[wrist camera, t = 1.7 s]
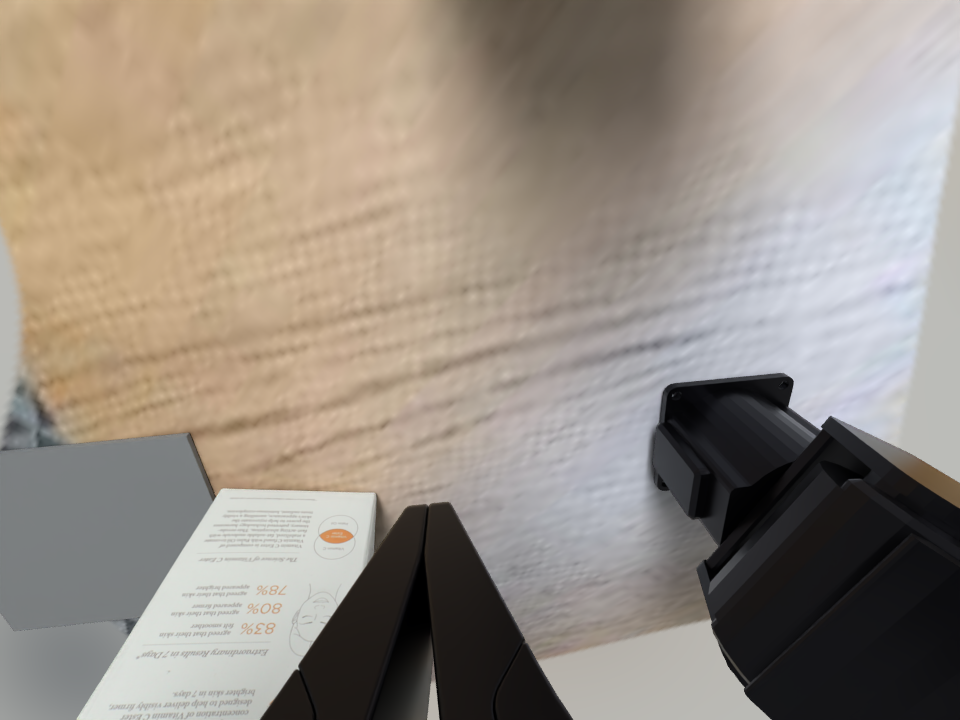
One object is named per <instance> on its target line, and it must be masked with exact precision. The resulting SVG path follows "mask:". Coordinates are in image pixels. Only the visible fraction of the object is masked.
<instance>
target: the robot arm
mask: <svg viewBox="0 0 960 720" xmlns="http://www.w3.org/2000/svg"><path fill="white" fill-rule="evenodd" d="M781 382H783V383H782V384H781V385H780V383H781ZM793 384H794V381H793V379H792V378H790V377H789V376H787V375H786V374H784V373H777V374H767V375H756V376H746V377H736V378H725V379H715V380H705V381H694V382H684V383H674V384H670V385H669V386H667V387H666V388H665V390H664V393H663V402H662V411H661V420H660V423H659V424H658V426H657V428H656V437H655V447H654V456H653V466H654V467H655V476H654V482H655V484H656V486H657V487H658V488H659V489H660V490H662V491H667V490H670V491H671V493H672V494H673V496H674V497H675V498H676V500H677V501H678V503H679V504H680V506H681V507H682V509H683V510H684V512H685V513H686V515H687V516H688V517H690V518H691V519H692V520H693V519H700V521H701V522H702V524H703V525H704V527H705V528H706V529H707V531H708V532H709V534H710V535H711V537H712V538H713V539H714V541H715V542H716V544H717V545H718V548H717V549H716V551H715V552H714V553H713V554H712V555H711V556H710V557H709V559H708V560H703V561H702V563H701V564H700V565H699V566H698V567H697V572H698V576H699V579H700V583H701V586H702V590H703V593H704V596H705V600H706V603H707V607H708V610H709V613H710V617H711V620H712V624H711V626H712V629H713V634H714V635H715V637H716V639H717V640H718V644H719V647H720V649H721V652H722V654H723V656H724V658H725V660H726V662H727V665H728V667H729V668H730V670H731V671H732V672H733V673H734V674H735V676H736V677H737V678H738V680H739V681H740V682H741V684H742V685H743V686H744V687H745V688H744V692H745V694H746V696H747V697H748V698H749V699H750V700H751V701H752V702H753V703H754V704H755V705H756V706H758V707H759V708H760V709H761V710H762V711H763V712H764V713H765V714H766V715H767V716H768V717H769V718H770V719H772V720H960V483H959V482H957V481H955V480H954V479H952V478H950V477H949V476H947V475H945V474H944V473H942V472H940V471H939V470H937V469H935V468H934V467H932V466H930V465H929V464H927V463H925V462H924V461H922V460H920V459H919V458H917V457H915V456H914V455H912V454H910V453H908V452H906V451H904V450H902V449H900V448H897V447H895V446H893V445H891V444H889V443H887V442H885V441H883V440H881V439H878V438H876V437H874V436H872V435H870V434H868V433H866V432H864V431H862V430H860V429H857V428H855V427H853V426H851V425H849V424H847V423H845V422H843V421H841V420H838V419H836V418H834V417H832V416H830V417H829V418H828V419H827V420H826V421H825V423H824V424H823V425H822V426H821V427H822V428H823V429H822V430H819V429H818V428H816V427H815V426H814V425H812V424H811V423H810V422H808V421H807V420H805V419H804V418H803V417H801V416H800V415H798V414H797V413H796V412H794V411H793V410H792V409H790V408H789V407H788V405H789V401H790V397H791V393H792V389H793ZM779 385H780V386H779ZM677 391H678V393H677V395H675V396H673V397H672V394H673V393H674V392H677ZM663 481H664V482H663ZM433 658H434V668H435V678H436V688H437V697H438V708H439V718H440V720H573V719H572V717H571V716H570V714H569V713H568V711H567V710H566V708H565V706H564V705H563V703H562V702H561V700H560V699H559V697H558V696H557V695H556V693H555V691H554V689H553V688H552V686H551V684H550V682H549V681H548V679H547V677H546V676H545V674H544V672H543V671H542V669H541V667H540V666H539V664H538V662H537V660H536V658H535V656H534V655H533V653H532V651H531V649H530V647H529V645H528V644H527V643H525V639H524V637H523V635H522V633H521V631H520V629H519V628H518V626H517V624H516V622H515V620H514V618H513V617H512V615H511V613H510V611H509V609H508V607H507V605H506V604H505V602H504V600H503V598H502V596H501V594H500V593H499V591H498V589H497V587H496V585H495V583H494V582H493V580H492V578H491V576H490V574H489V572H488V571H487V569H486V567H485V565H484V563H483V561H482V560H481V558H480V556H479V554H478V552H477V550H476V549H475V547H474V545H473V543H472V541H471V539H470V537H469V536H468V534H467V532H466V530H465V528H464V526H463V525H462V523H461V521H460V519H459V517H458V515H457V514H456V512H455V510H454V508H453V506H452V505H451V503H449V502H441V503H432V504H430V505H429V507H428V505H426V504H422V505H412V506H408V507H406V508H405V510H404V511H403V513H402V514H401V515H400V517H399V518H398V520H397V521H396V523H395V524H394V526H393V527H392V529H391V530H390V532H389V533H388V534H387V536H386V537H385V539H384V540H383V542H382V543H381V545H380V546H379V548H378V549H377V551H376V552H375V553H374V555H373V556H372V558H371V559H370V561H369V562H368V564H367V565H366V567H365V568H364V569H363V571H362V572H361V574H360V575H359V577H358V578H357V580H356V581H355V583H354V584H353V586H352V587H351V588H350V590H349V591H348V593H347V594H346V596H345V597H344V599H343V600H342V602H341V603H340V605H339V606H338V607H337V609H336V610H335V612H334V613H333V615H332V616H331V618H330V619H329V621H328V622H327V624H326V625H325V626H324V628H323V629H322V631H321V632H320V634H319V635H318V637H317V638H316V640H315V641H314V642H313V644H312V645H311V647H310V648H309V650H308V651H307V653H306V654H305V656H304V657H303V659H302V660H301V661H300V663H299V665H298V668H299V670H298V669H295V670H294V671H293V673H292V674H291V676H290V677H289V679H288V680H287V682H286V683H285V684H284V686H283V687H282V689H281V690H280V692H279V693H278V695H277V696H276V697H275V699H274V700H273V702H272V703H271V704H270V706H269V707H268V709H267V710H266V711H265V713H264V714H263V715H262V717H261V718H260V720H427V713H428V704H429V694H430V684H431V674H432V664H433Z"/></svg>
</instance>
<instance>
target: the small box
mask: <svg viewBox="0 0 960 720" xmlns="http://www.w3.org/2000/svg"><path fill="white" fill-rule="evenodd" d="M376 501H377V499H376V493H374V492H328V491H295V490H257V489H226V488H223V489H221V490H220V492H219V494H218V495H217V497H216V498H215V500H214V501H213V503H212V504H211V506H210V508H209V509H208V511H207V512H206V514H205V516H204V517H203V519H202V520H201V522H200V523H199V525H198V527H197V528H196V530H195V531H194V533H193V534H192V536H191V538H190V539H189V541H188V542H187V544H186V545H185V547H184V548H183V550H182V552H181V553H180V555H179V556H178V558H177V560H176V561H175V563H174V564H173V566H172V568H171V569H170V571H169V572H168V574H167V576H166V577H165V579H164V580H163V582H162V583H161V585H160V587H159V588H158V590H157V592H156V593H155V595H154V596H153V598H152V600H151V601H150V603H149V604H148V606H147V608H146V609H145V611H144V612H143V614H142V616H141V617H140V619H139V620H138V622H137V624H136V625H135V627H134V629H133V630H132V632H131V633H130V635H129V637H128V638H127V640H126V641H125V643H124V645H123V646H122V648H121V649H120V651H119V653H118V654H117V656H116V657H115V659H114V661H113V662H112V664H111V665H110V667H109V669H108V670H107V672H106V673H105V675H104V677H103V678H102V680H101V681H100V683H99V684H98V686H97V688H96V689H95V691H94V693H93V694H92V696H91V697H90V699H89V700H88V702H87V703H86V705H85V707H84V708H83V710H82V712H81V713H80V715H79V716H78V718H77V719H76V720H260V718H261V717H262V715H263V714H264V713H265V711H266V710H267V709H268V707H269V706H270V704H271V703H272V702H273V700H274V699H275V697H276V696H277V695H278V693H279V692H280V690H281V689H282V687H283V686H284V684H285V683H286V682H287V680H288V679H289V677H290V676H291V674H292V673H293V671H294V670H295V669H298V670H299V668H298V665H299V663H300V661H301V660H302V659H303V657H304V656H305V654H306V653H307V651H308V650H309V648H310V647H311V645H312V644H313V642H314V641H315V640H316V638H317V637H318V635H319V634H320V632H321V631H322V629H323V628H324V626H325V625H326V624H327V622H328V621H329V619H330V618H331V616H332V615H333V613H334V612H335V610H336V609H337V607H338V606H339V605H340V603H341V602H342V600H343V599H344V597H345V596H346V594H347V593H348V591H349V590H350V588H351V587H352V586H353V584H354V583H355V581H356V580H357V578H358V577H359V575H360V574H361V572H362V571H363V569H364V568H365V567H366V565H367V564H368V562H369V561H370V559H371V558H372V556H373V555H374V540H375V520H376Z"/></svg>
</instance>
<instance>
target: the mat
mask: <svg viewBox="0 0 960 720" xmlns="http://www.w3.org/2000/svg"><path fill="white" fill-rule="evenodd" d="M214 500H215V495H214V493H213V490H212V488H211V485H210V483H209V480H208V478H207V475H206V473H205V470H204V468H203V465H202V463H201V460H200V458H199V455H198V453H197V450H196V448H195V446H194V443H193V441H192V438H191V436H190V433H182V434H172V435H162V436H152V437H141V438H131V439H121V440H110V441H100V442H90V443H79V444H69V445H59V446H48V447H38V448H28V449H18V450H7V451H0V613H1V614H2V616H3V617H4V619H5V620H6V621H7V623H8V624H9V625H10V627H11V628H12V629H13V631H21V630H30V629H38V628H48V627H56V626H66V625H76V624H85V623H94V622H102V621H112V620H121V619H131V618H140V617H141V616H142V614H143V612H144V611H145V609H146V608H147V606H148V604H149V603H150V601H151V600H152V598H153V596H154V595H155V593H156V592H157V590H158V588H159V587H160V585H161V583H162V582H163V580H164V579H165V577H166V576H167V574H168V572H169V571H170V569H171V568H172V566H173V564H174V563H175V561H176V560H177V558H178V556H179V555H180V553H181V552H182V550H183V548H184V547H185V545H186V544H187V542H188V541H189V539H190V538H191V536H192V534H193V533H194V531H195V530H196V528H197V527H198V525H199V523H200V522H201V520H202V519H203V517H204V516H205V514H206V512H207V511H208V509H209V508H210V506H211V504H212V503H213V501H214Z"/></svg>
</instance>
